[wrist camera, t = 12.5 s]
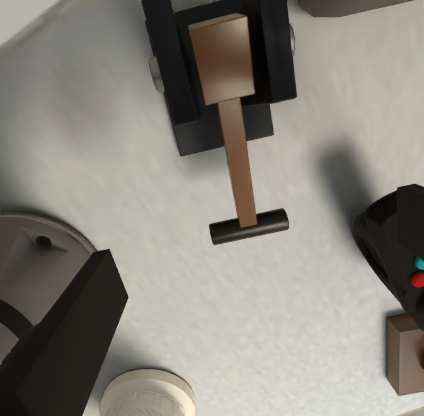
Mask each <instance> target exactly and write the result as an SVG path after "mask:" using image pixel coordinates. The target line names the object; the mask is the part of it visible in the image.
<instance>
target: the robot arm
mask: <svg viewBox="0 0 424 416" xmlns="http://www.w3.org/2000/svg"><path fill="white" fill-rule="evenodd" d="M396 243H398V244H399V245H401V246H402V247H404V248H405V249H406V250H408V251H409V252H411V253H412V254H414V255H415V256H417V257H418V258H420V259H421V260H423V261H424V187H423V186H420V185H417V184H411V185H407V186H402V187H397V224H396ZM127 300H128V295H127V292H126V290H125V287H124V285H123V282H122V279H121V277H120V274H119V272H118V269H117V267H116V264H115V262H114V259H113V257H112V254H111V252H110V249H106V250H102V251H96V250H95V249H94V247H93V246H92V245H91V244H90V243H89V242H88V241H87V240H86V239H85V238H84V237H83V236H82V235H80V234H79V233H78V232H77V231H75V230H74V229H72V228H71V227H69V226H68V225H66V224H64V223H62V222H60V221H58V220H56V219H53V218H51V217H48V216H45V215H41V214H37V213H32V212H25V211H6V212H0V416H82V415H83V412H84V410H85V407H86V405H87V402H88V400H89V397H90V394H91V392H92V389H93V387H94V384H95V382H96V379H97V377H98V374H99V371H100V369H101V366H102V364H103V361H104V359H105V356H106V354H107V351H108V348H109V346H110V343H111V341H112V338H113V336H114V333H115V330H116V328H117V325H118V323H119V320H120V318H121V315H122V313H123V310H124V307H125V305H126V302H127Z"/></svg>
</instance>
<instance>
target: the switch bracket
mask: <svg viewBox="0 0 424 416" xmlns="http://www.w3.org/2000/svg"><path fill="white" fill-rule="evenodd" d="M141 2H142V6H143V10H144V13H145V17H146V20H145V24H146V28H147V32H148V35H149V39H150V43H151V47H152V51H153V54H154V57H151V58H149V67H150V71H151V75H152V79H153V82H154V85H155V87H156V89H157V91H158V92H159V93H161V92H164V96H165V100H166V104H167V107H168V111H169V115H170V119H171V123H172V126H173V130H174V134H175V138H176V142H177V145H178V149H179V153H180V156H185V155H189V154H194V153H198V152H202V151H207V150H211V149H215V148H220V147H224V143H223V138H222V133H221V127H220V122H219V117H218V112H217V106H216V103H215V104H211V105H207V106H206V105H205V103H204V99H203V95H202V90H201V86H200V81H199V77H198V72H197V67H196V63H195V58H194V53H193V49H192V44H191V40H190V35H189V30H188V25H191V24H195V23H199V22H203V21H207V20H211V19H215V18H219V17H222V16H226V15H230V14H234V13H237V14H242V15H246V16H247V17H248V27H249V37H250V47H251V57H252V67H253V77H254V87H255V94H253V95H248V96H244V97H240V99H241V106H242V113H243V121H244V128H245V136H246V141H250V140H254V139H259V138H263V137H267V136H272V135H274V132H273V125H272V118H271V111H270V104H272V103H277V102H281V101H286V100H290V99H294V98H296V97H297V92H296V83H295V74H294V64H293V56H294V51H295V38H294V32H293V29H292V26H291V24H289V17H288V8H287V0H222V1H218V2H214V3H210V4H206V5H202V6H199V7H195V8H191V9H187V10H183V11H179V12H174V9H173V5H172V2H171V0H141Z"/></svg>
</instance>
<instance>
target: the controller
mask: <svg viewBox="0 0 424 416" xmlns="http://www.w3.org/2000/svg"><path fill="white" fill-rule="evenodd" d="M396 224H397V190H396V191H394V192H392V193H390V194H388V195H386V196H384V197H382V198H381V199H379V200H377V201H375V202H374V203H372V204H371V205H370V206H369V207H367V209H366V210H365V212H363V213H362V214H360V215H359V216H357V217H356V218H355V220H354V222H353V225H352V226H353V235H354V238H355V240H356V243H357V245H358V247H359V248H360V250H361V252H362V254H363V256H364V257H365V259H366V260H367V262H368V263H369V265H370V266H371V268H372V269H373V271H374V272H375V273H376V275H377V276H378V277H379V279H380V280H381V281H382V282H383V284H384V285H385V286H386V287H387V288H388V289H389V290H390V292H391V293H392V294H393V295H394V296H395V297H396V298H397V300H398V301H399V302H400V304H401V305H402V307H403V308H404V310H405V311H406V313H407V314H408V315H409V316H410V317H411V318H412V319H414V320H415V322H416V324H417V326H418V327H419V328H420V329H421V330H422V331H424V261H423V260H421V259H420V258H418V257H417V256H415V255H414V254H412V253H411V252H409V251H408V250H406V249H405V248H404V247H402V246H401V245H399V244H398V243H396Z"/></svg>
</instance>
